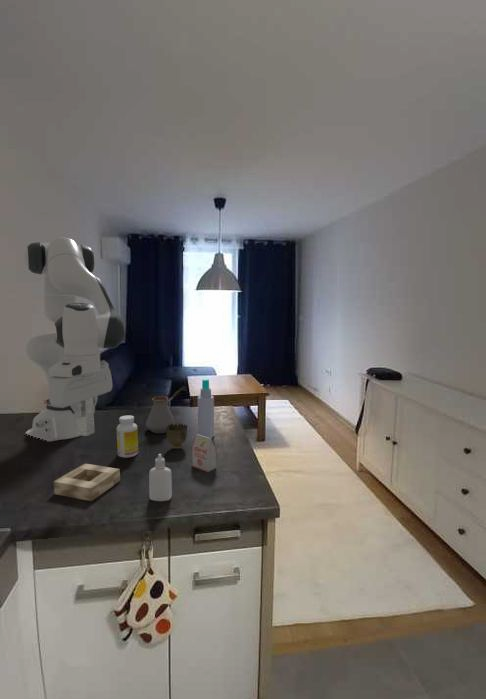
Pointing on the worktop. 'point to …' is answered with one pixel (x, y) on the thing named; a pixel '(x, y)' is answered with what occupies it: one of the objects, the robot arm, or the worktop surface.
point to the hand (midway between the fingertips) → (85, 415)
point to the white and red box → (203, 453)
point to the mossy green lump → (176, 435)
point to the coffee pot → (161, 414)
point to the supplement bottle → (127, 437)
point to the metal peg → (86, 418)
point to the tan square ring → (87, 482)
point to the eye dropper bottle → (160, 481)
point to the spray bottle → (206, 411)
